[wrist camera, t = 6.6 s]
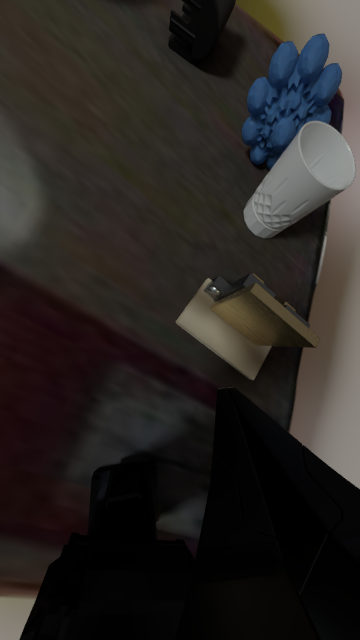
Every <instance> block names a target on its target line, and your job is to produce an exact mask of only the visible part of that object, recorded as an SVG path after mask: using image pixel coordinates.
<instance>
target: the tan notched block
mask: <svg viewBox="0 0 360 640" xmlns="http://www.w3.org/2000/svg"><path fill="white" fill-rule="evenodd" d="M253 275H254V276H255V277H256V278H258V277H257V276H256V275H255V274H254V273H253ZM258 279H259V278H258ZM259 280H260V281H261V282H262V283H263V284H264V282H263V281H262V280H261V279H259ZM283 305H288V306H289V307H290V308H292V307H291V306H290V305H289V304H288V303H287V302H283V303H279V302H278V301H277V300H276V299H274V298H273V297H272V296H271V295H270V294H269V293H268V292H266V291H265V290H264V289H263V288H262V287H261V286H260V285H258V284H257V283H254V284H252V285H250V286H247V287H245V288H243V289H241V290H239V291H237V292H235V293H233V294H231V295H229V296H227V297H225V298H223V299H220V300H218V301H216V302H214V303H213V305H212V306H211V308H210V309H211V310H212V311H213V312H215V313H216V314H217V315H218V316H220V317H221V318H222V319H223V320H225V321H226V322H227V323H228V324H230V325H231V326H232V327H233V328H234V329H236V330H237V331H238V332H239V333H241V334H242V335H243V336H244V337H246V338H247V339H248V340H249V341H251V342H252V343H253V344H254V345H255V346H284V347H314V348H316V346H317V344H318V342H319V340H320V338H319V337H318V336H316V335H315V334H314V333H313V332H312V331H311V330H310V329H309V328H307V327H306V326H305V325H304V324H303V323H302V322H301V321H299V320H298V319H297V318H296V317H295V316H294V315H293V314H291V313H290V312H289V311H288V310H287V309H286V308H285V307H283ZM292 309H293V308H292ZM293 310H294V311H296V310H295V309H293Z"/></svg>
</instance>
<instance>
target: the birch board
mask: <svg viewBox="0 0 360 640" xmlns="http://www.w3.org/2000/svg"><path fill="white" fill-rule="evenodd" d="M211 281H212V280H210V279H209V278H208V279H207V280H206V281H205V282H204V283H203V285H202V286H201V287H200V289H199V290H198V292H197V293H196V294H195V296H194V297H193V299H192V300H191V301H190V303H189V304H188V305H187V307H186V308H185V310H184V311H183V312H182V314H181V315H180V316H179V318H178V319H177V321H176V322H175V323H176V324H178V325H179V326H180V327H182V328H183V329H184V330H186V331H187V332H188V333H190V334H191V335H192V336H193V337H195V338H196V339H197V340H199V341H200V342H201V343H203V344H204V345H205V346H206V347H208V348H209V349H210V350H212V351H213V352H214V353H216V354H217V355H218V356H220V357H221V358H222V359H223V360H225V361H226V362H227V363H229V364H230V365H231V366H233V367H234V368H235V369H236V370H238V371H239V372H240V373H242V374H243V375H244V376H246V377H247V378H248V379H250V380H254V379H255V377H256V375H257V373H258V371H259V369H260V368H261V366H262V364H263V362H264V360H265V358H266V356H267V354H268V352H269V351H270V349H271V347H272V346H255V345H254V344H253V343H252V342H251V341H249V340H248V339H247V338H246V337H244V336H243V335H242V334H241V333H239V332H238V331H237V330H236V329H234V328H233V327H232V326H231V325H230V324H228V323H227V322H226V321H225V320H223V319H222V318H221V317H220V316H218V315H217V314H216V313H215V312H213V311H212V310H211V309H210V308H211V306H212V305H213V303H214V301H213V300H214V299H213V298H212V297H210V296H209V295H208V294H207V293H206V292H204V291H203V290H204V289H205V287H206V286H207V285H208V283H210V282H211Z"/></svg>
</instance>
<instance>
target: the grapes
mask: <svg viewBox="0 0 360 640" xmlns="http://www.w3.org/2000/svg"><path fill="white" fill-rule="evenodd" d="M328 53H329V43H328V40H327V38H326V36H325V34H317V35H315V36H313V37H312V38H311V39H310V40H309V41H308V42H307V44H306V45H305V47H304V48H303V49H302V51H301V54H300V56H299V59H298V51H297V49H296V47H295V45H294V43H293V42H292V41H287V42H284V43H282V44H281V45H280V46H279V48H278V49H277V51H276V52H275V54H274V55H273V57H272V60H271V63H270V67H269V81H268V79H267V78H266V77H260V78H258V79H256V81H255V82H254V83H253V85H252V86H251V88H250V89H249V93H248V97H247V105H248V111H249V113H250V114H251V116H249V117H248V118H247V120H246V121H245V122H244V124H243V128H242V139H243V141H244V143H245V144H246V145H249V146H252V148H251V151H250V159H251V161H252V163H253V164H256V165H259V164H261V163H263V162H264V161H265V160H266V159H267V160H266V161H267V167H268V169H270V170H271V168H272V167H273V166H274V164H275V163H276V162H277V160H278V159H279V158H280V156H281V155H282V154H283V152H284V151H285V150H286V148H287V147H288V146H289V144H290V143H291V142H292V140H293V139H294V137H295V136H296V135H297V133H298V132H299V131H300V129H301V128H302V127H303V125H305V124H306V123H307V122H310V121H321V122H324V123H326V124H329V122H330V120H331V110H330V108H329V107H328V105H326V104H328V103H329V102H330V101H331V99H332V98H333V97H334V95H335V94H336V92H337V90H338V87H339V85H340V83H341V78H342V71H341V68H340V66H339V65H338V63H332V64H330V65H327V66H326V67H325V68H324V69H323V67H324V65H325V62H326V60H327V57H328Z"/></svg>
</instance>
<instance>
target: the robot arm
mask: <svg viewBox="0 0 360 640" xmlns="http://www.w3.org/2000/svg"><path fill="white" fill-rule="evenodd" d="M151 466H154V467H153V468H150V467H151ZM96 475H99V477H96ZM156 481H157V465H156V462H155V461H147V462H141V463H138V462H135V463H128V464H122V465H116V466H114V467H110V468H103V469H98V470H96V471H94V473H93V476H92V482H91V496H90V511H89V525H88V534H87V536H86V535H79V533H74V532H72V533H71V536H70V539H69V542H68V545H64V547H63V550H62V553H61V556H60V557H59V558H58V559H56V560H55V561H54V562H53V563H51V564H50V565H49V567H48V569H47V572H46V575H45V577H44V580H43V583H42V585H41V588H40V590H39V593H38V596H37V598H36V601H35V603H34V606H33V608H32V610H31V613H30V615H29V618H28V620H27V622H26V624H25V627H24V629H23V632H22V635H21V637H20V640H360V489H359V488H357V487H355V486H354V485H353V484H352V483H350V482H349V481H347V480H346V479H345V478H344V477H342V476H341V475H340V474H338V473H337V472H336V471H335V470H333V469H332V468H331V467H330V466H328V465H327V464H326V463H325V462H323V461H322V460H321V459H319V458H318V457H317V456H316V455H315V454H314V453H312V452H311V451H310V450H309V449H308V448H306V447H305V446H304V445H303V446H302V443H300V442H299V441H298V440H297V439H296V438H294V437H293V436H292V435H291V434H290V433H288V432H287V431H286V430H285V429H284V428H283V427H281V426H280V425H279V424H278V423H277V422H275V421H274V420H273V419H272V418H271V417H270V416H268V415H267V414H266V413H265V412H264V411H262V410H261V409H260V408H259V407H258V406H256V405H255V404H254V403H253V402H252V401H251V400H249V399H248V398H247V397H246V396H245V395H243V394H242V393H241V392H240V391H239V390H237V389H236V388H235V387H228V388H219V389H217V401H216V415H215V430H214V444H213V457H212V469H211V478H210V486H209V492H208V498H207V503H206V508H205V513H204V519H203V524H202V529H201V534H200V539H199V544H198V549H197V554H196V559H195V560H194V558H193V555H192V554H191V552H190V550H189V549H188V547H187V546H186V544H185V542H184V540H182V539H176V541H167V540H158V536H157V528H156V519H155V517H156Z"/></svg>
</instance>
